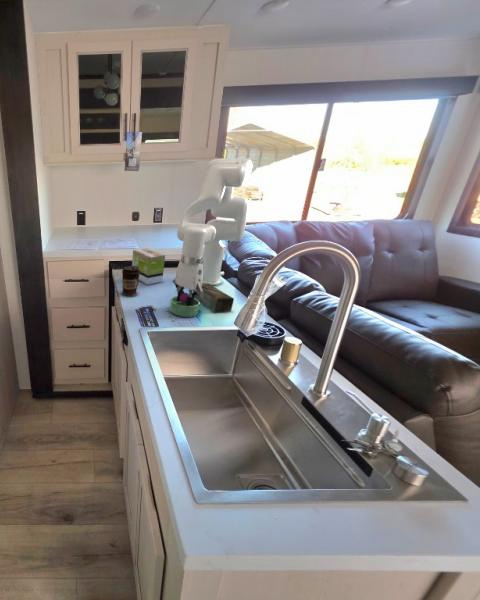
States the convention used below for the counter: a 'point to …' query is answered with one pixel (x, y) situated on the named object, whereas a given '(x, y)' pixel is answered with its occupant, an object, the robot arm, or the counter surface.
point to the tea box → (149, 265)
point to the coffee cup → (130, 280)
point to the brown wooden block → (215, 298)
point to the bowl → (184, 308)
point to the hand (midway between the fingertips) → (184, 302)
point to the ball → (184, 298)
